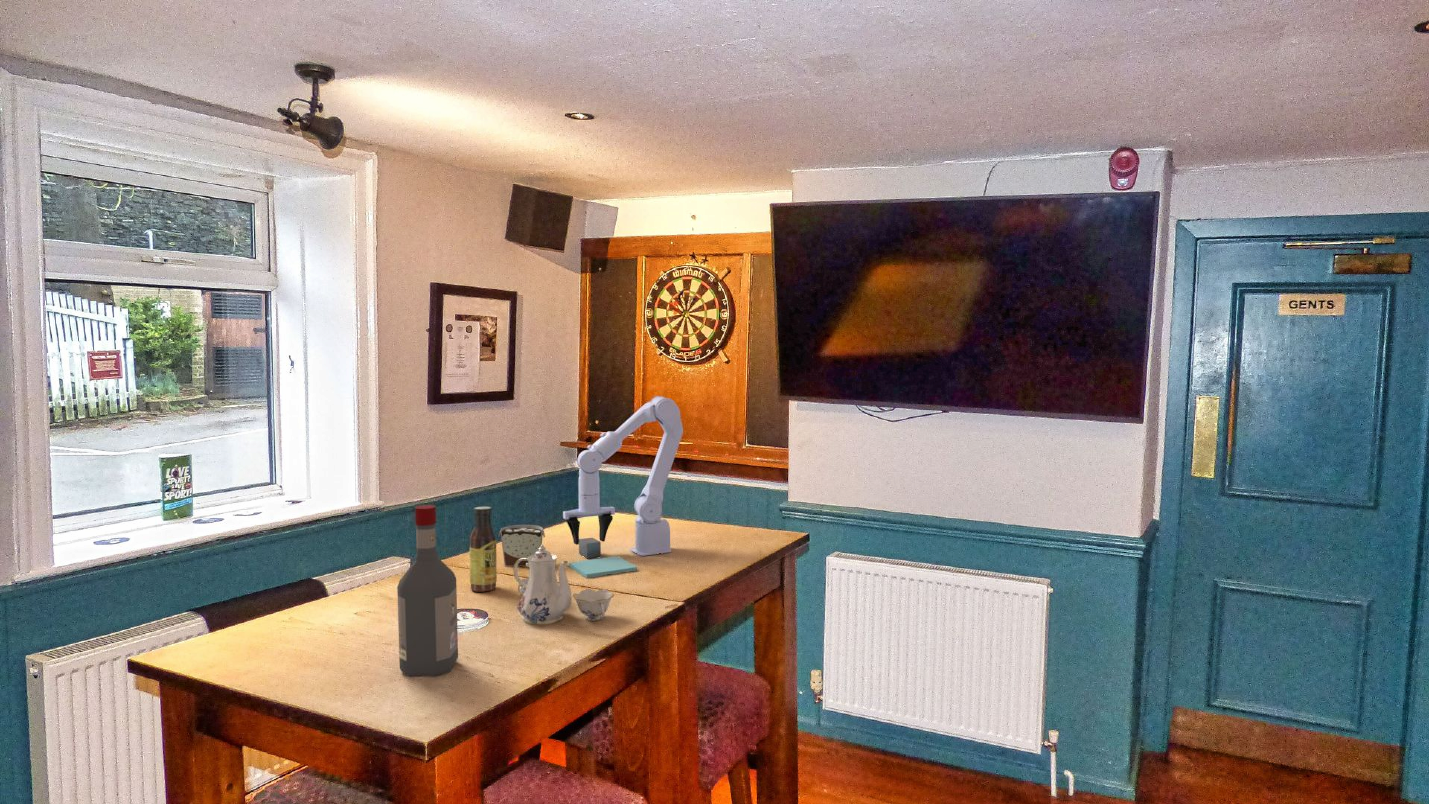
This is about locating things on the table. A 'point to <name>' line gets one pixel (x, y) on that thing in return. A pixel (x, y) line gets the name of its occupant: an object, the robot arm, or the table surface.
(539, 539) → the food container
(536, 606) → the chinaware
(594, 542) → the block
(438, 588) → the liquor
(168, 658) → the table surface
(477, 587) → the sauce bottle
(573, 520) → the robot arm
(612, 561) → the teal board
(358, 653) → the table surface
